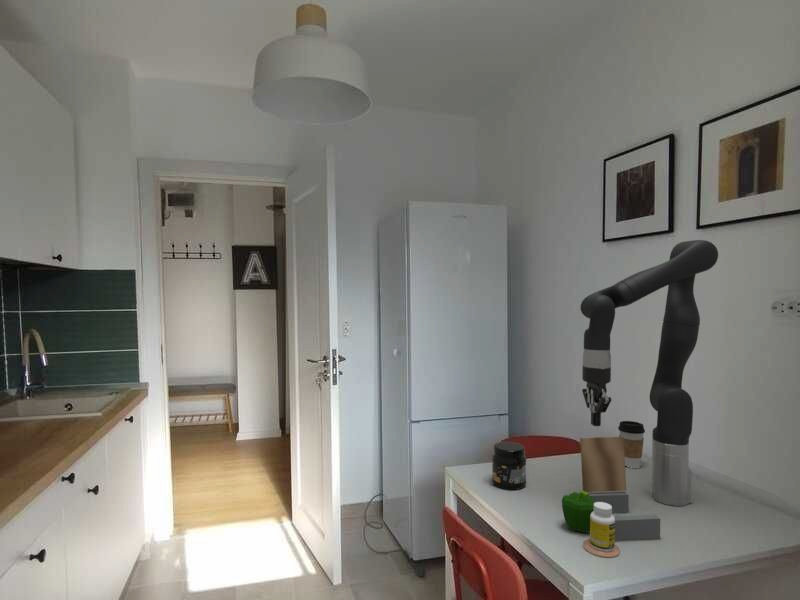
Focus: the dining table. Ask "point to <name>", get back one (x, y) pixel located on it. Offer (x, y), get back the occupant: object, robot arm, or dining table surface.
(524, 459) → the supplement container
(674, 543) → the dining table surface
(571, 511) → the bell pepper
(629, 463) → the coffee cup
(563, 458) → the dining table surface
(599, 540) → the supplement bottle
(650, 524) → the rails
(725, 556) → the dining table surface
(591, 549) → the coaster
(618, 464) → the tan flat square panel
